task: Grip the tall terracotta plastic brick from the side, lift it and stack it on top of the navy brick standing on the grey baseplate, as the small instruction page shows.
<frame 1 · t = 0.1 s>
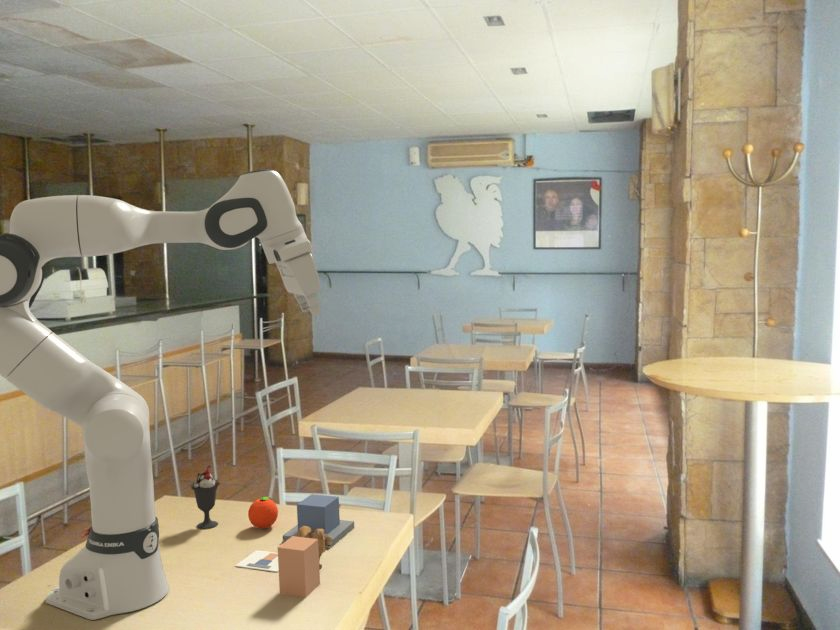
hand: (312, 313, 144), 52 cm above the table, tool tilted 20°, fingers open, 8 cm apart
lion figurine: (311, 564, 147), on the table, touching instruction page
instruction page: (266, 561, 149), on the table
clementine: (265, 527, 169), on the table
sundae: (207, 526, 171), on the table
terracotta brick: (300, 588, 136), on the table
tower base: (319, 534, 163), on the table
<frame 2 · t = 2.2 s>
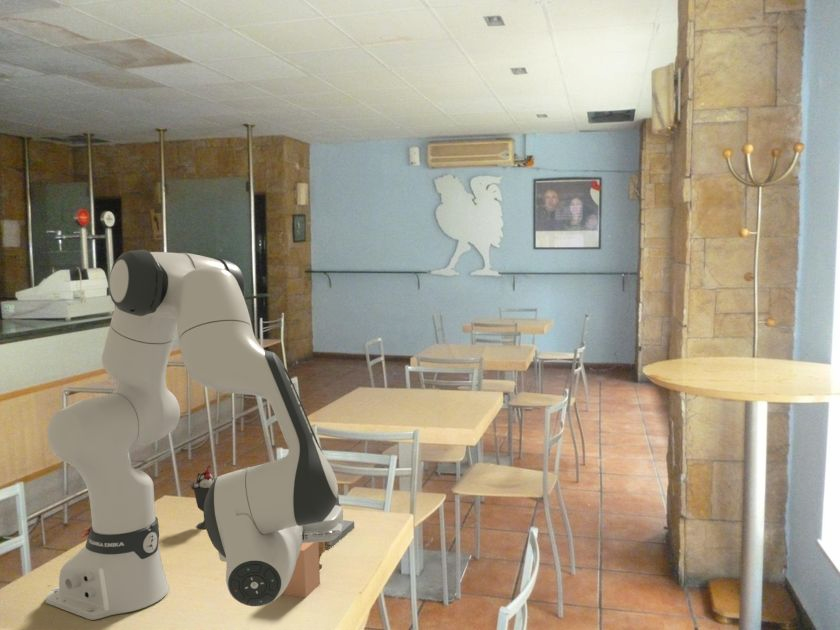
hand: (287, 507, 123), 20 cm above the table, tool horizontal, fingers open, 8 cm apart
nothing on the table moved.
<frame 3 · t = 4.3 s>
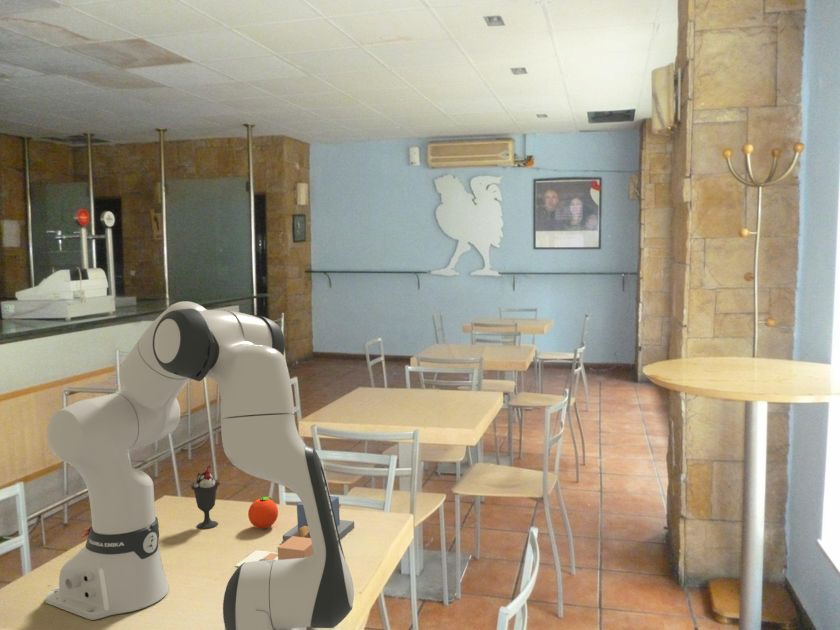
hand: (292, 583, 127), 5 cm above the table, tool horizontal, fingers open, 8 cm apart
nothing on the table moved.
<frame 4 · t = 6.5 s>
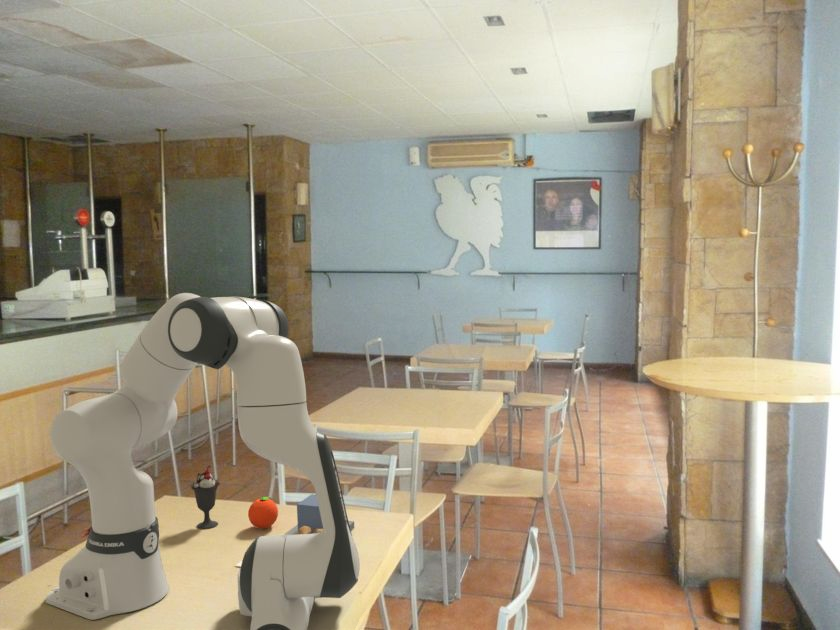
hand: (299, 561, 137), 5 cm above the table, tool horizontal, fingers closed on terracotta brick, 7 cm apart
terracotta brick: (300, 588, 136), on the table, touching gripper
everything else where it was.
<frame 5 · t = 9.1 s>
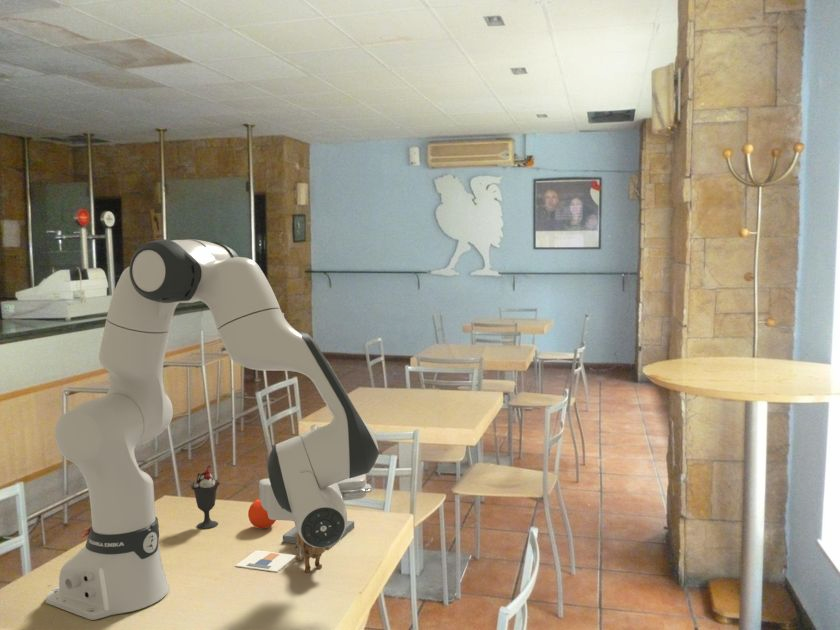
hand: (311, 476, 141), 20 cm above the table, tool horizontal, fingers closed on terracotta brick, 7 cm apart
terracotta brick: (312, 502, 141), point 15 cm above the table, touching gripper
everything else where it was.
when the fingers open (14 cm above the table, at t = 12.1 s): terracotta brick drops 1 cm, resting on tower base.
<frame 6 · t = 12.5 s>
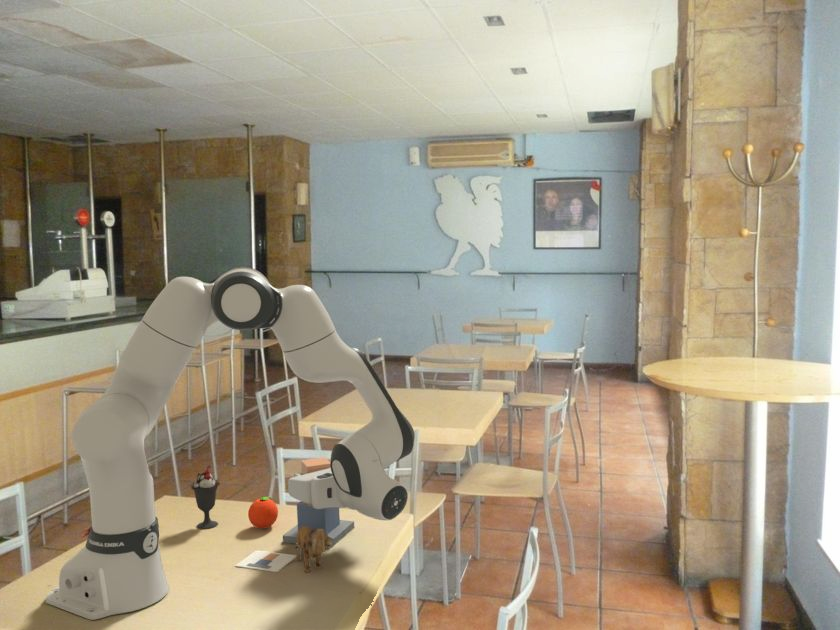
hand: (314, 471, 162), 14 cm above the table, tool horizontal, fingers open, 8 cm apart
terracotta brick: (317, 500, 162), point 8 cm above the table, touching tower base
everything else where it was.
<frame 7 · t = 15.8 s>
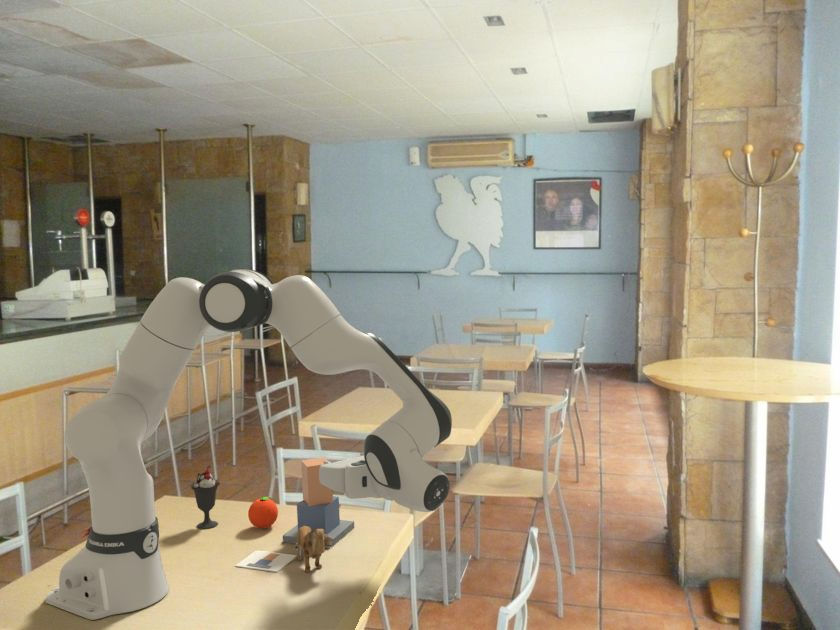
hand: (345, 459, 152), 20 cm above the table, tool horizontal, fingers open, 8 cm apart
nothing on the table moved.
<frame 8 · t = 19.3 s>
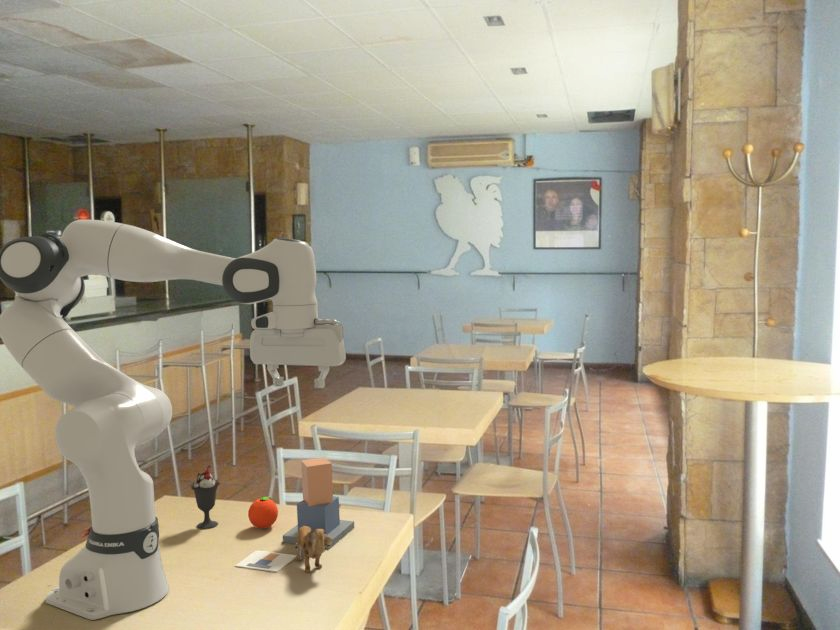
hand: (298, 386, 144), 37 cm above the table, tool pointing down, fingers open, 8 cm apart
nothing on the table moved.
at the end: terracotta brick 0.0 cm off-centre on the tower base, point 8.0 cm above the tower base's base; terracotta brick tilted 0°; the gripper is holding nothing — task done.
